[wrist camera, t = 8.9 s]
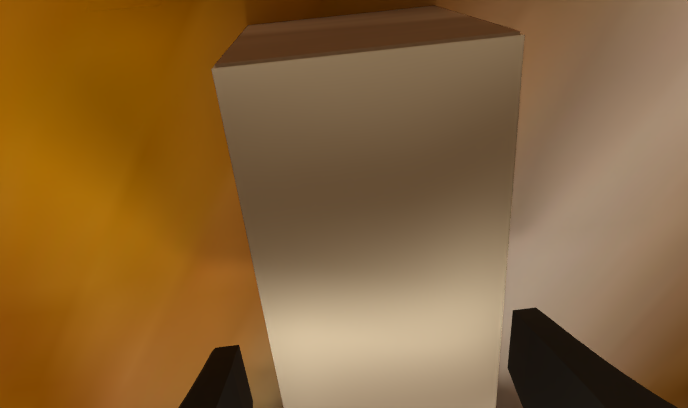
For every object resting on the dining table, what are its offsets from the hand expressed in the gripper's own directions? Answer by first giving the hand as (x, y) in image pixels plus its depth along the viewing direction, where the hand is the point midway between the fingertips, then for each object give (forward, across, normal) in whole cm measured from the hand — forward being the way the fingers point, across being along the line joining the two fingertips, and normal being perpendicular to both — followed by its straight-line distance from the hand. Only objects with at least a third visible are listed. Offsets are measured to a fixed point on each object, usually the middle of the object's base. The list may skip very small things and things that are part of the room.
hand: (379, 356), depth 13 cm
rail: (+3, 0, 0) cm, 3 cm away
